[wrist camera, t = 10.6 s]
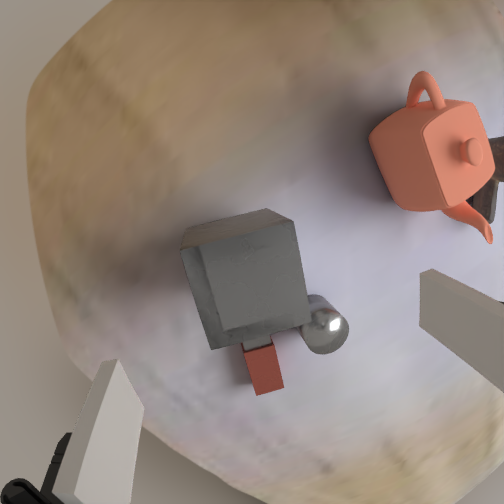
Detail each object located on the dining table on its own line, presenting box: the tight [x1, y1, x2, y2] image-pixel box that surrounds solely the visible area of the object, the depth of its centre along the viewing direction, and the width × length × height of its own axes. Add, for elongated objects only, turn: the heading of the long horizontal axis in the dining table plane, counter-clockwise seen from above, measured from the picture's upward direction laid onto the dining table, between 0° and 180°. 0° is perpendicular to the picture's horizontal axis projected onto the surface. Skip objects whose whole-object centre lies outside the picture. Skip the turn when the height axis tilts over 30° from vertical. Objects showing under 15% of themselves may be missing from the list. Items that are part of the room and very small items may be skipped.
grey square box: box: [180, 208, 312, 350], centre depth 23 cm, size 7×7×8 cm
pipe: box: [472, 136, 504, 224], centre depth 29 cm, size 6×13×8 cm, turn 168°
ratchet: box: [241, 335, 284, 396], centre depth 28 cm, size 19×6×7 cm, turn 13°
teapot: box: [368, 71, 495, 244], centre depth 26 cm, size 12×18×10 cm, turn 29°
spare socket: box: [296, 295, 349, 354], centre depth 31 cm, size 4×4×5 cm
